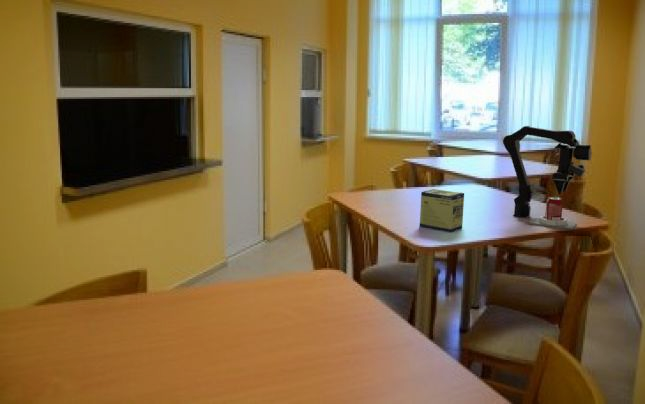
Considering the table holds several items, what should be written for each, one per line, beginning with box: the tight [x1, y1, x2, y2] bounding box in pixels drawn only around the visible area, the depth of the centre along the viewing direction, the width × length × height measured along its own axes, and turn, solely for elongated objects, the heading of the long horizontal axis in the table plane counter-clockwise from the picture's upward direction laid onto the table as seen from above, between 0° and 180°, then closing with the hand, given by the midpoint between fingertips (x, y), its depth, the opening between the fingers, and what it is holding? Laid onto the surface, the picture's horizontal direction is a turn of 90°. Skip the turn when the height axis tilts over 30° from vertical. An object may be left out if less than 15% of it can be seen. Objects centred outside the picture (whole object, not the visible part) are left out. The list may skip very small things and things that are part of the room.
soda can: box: [544, 196, 564, 221], centre depth 261 cm, size 7×7×12 cm
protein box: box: [419, 189, 465, 233], centre depth 251 cm, size 10×16×16 cm
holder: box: [528, 215, 577, 231], centre depth 261 cm, size 18×12×3 cm, turn 59°
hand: (562, 193), depth 266 cm, fingers open, 9 cm apart
